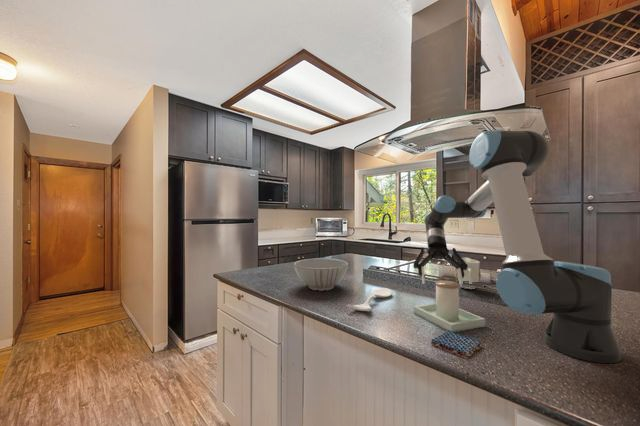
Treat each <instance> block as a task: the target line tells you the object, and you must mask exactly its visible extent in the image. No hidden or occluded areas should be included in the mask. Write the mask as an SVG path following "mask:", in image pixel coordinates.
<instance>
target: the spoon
mask: <svg viewBox="0 0 640 426" xmlns="http://www.w3.org/2000/svg"><path fill="white" fill-rule="evenodd" d="M392 295H393V291H392V290H391V289H390V288H387V287H379V288H376V289H374V290H372V291H371V292H370V294H369V295H368V297H367V299H366V300H365V302H364V303H361V304H354V305H353V304H347V306H346V307H347V308H350V309H353V310H356V311H359V312H370V311H372V307H371V305H370V302H371V300H372V299H376V298H383V299H384V298H388V297H390V296H392Z"/></svg>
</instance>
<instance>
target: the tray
mask: <svg viewBox="0 0 640 426" xmlns="http://www.w3.org/2000/svg"><path fill="white" fill-rule="evenodd" d="M413 314H414V315H417V316H419V318H420V317H421V318H422V319H424V320H426V321H428V322H429V323H431V324H433V325H436V326H437V327H440V328H441V329H443V330H444V331H448V330H449V332H452V333H453V332H455V333H458V332H459V333H460V332H463V331H469V330H473V329H474V330H475V329H479V328H484V327H486V319H485V318H484V317H482V316H479V315H477V314H474V313H473V312H469V311H467V310H465V309H462V308H460V307H459V320H458V321H454V322H449V321H446V320H444V319H442V318H440V317H438V316H436V302H433V303H427V304H420V305H413Z"/></svg>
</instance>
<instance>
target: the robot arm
mask: <svg viewBox="0 0 640 426" xmlns="http://www.w3.org/2000/svg"><path fill="white" fill-rule="evenodd" d="M549 151H550V148H549V144H548V141H547V140H546V138H545V137H544V136H543V135H541V134H540V133H538V132H535V131H533V130H499V129H495V130H485V131H483V132H481V133H479V134H478V135H477V136H476V138H475V139H474V140H473V142H472V144H471V147H470V149H469V153H468V155H469V157H468V161H469V164H470V165H471V167H472V168H474V169H476V170H480V173H481V178H482V179H484V180H485V181H484V183H483V184H482V185H481V186H479V188H477V190H476V191H475V192H473V193H472V195H470V196H469V197H468V198H466V200H455V199H454V198H453V197H452V196H448V195H446V194H445V195H441V196H438V198H437V199H436V201H435V202H434V205H433V207H432V209H431V211H429V212H426V214H425V217H424V224H425V231H426V241H427V248H425V247H420V251H419V253H418V255H417V257H416V259H415V261H414V262H413V268H414V269H417V271H418V276H419V277H421V282H422V285H425V284H426V283H425V281H426V279H425V269H424V267H425V266H426V265H427V264H428V263H429V262H430V261H432V260H433V259H434V260H444V261H446V262H448V263H449V264H451V266H453V267H454V268H455V269H458V271H457V273H458V279H459V284H460V286H462V284H463V279H462V278H464V270H467V267H468V265H467V264H466V263H465V261H464V260H463V259H462V258H463V257H461V255H460V254H459V253H458V252H457V250H456V248H455V247H453V248H452V249H448V247H447V245H448V244H447V240H446V233H445V224H446V222H447V221H448V219H477V218H482V217H484V216H485V215H486V213H487V208H488V206H490V205H491V204H494V208H495V214H496V217H497V222H498V226H499V231H500V234H501V240H502V244H503V249H504V252H505V256H506V257H505V259H504V260H503V261H502V263H501V266H502V269H501V270H500V271H499V272H498V273H497V275H496V277H497V278H496V279H495V285H496V289H497V292H498V295H499V296H500V298H501V300H502V301H503V303H504V304H505V305H507V306H508V308H510V309H511V310H513V311H515V312H517V313H520V314H527V315H528V314H529V315H530V314H531V315H541V314H552V317H551V319H550V321H549V323H548V326H547V327H546V329H545V332H544V342H545V343H546V345H548V346H549V347H550V348H551V349H553V350H555V351H558V352H559V353H561V354H564V355H566V356H570V357H572V358H576V359H580V360H583V361H588V362H593V363H597V364H598V363H599V364H600V363H601V364H617V363H619V362H620V361H621V360H622V348H621V347H620V344H619V342H618V340H617V337H616V335H615V333H614V330H613V328H612V292H613V291H612V287H613V284H612V275H611V273H610V271H609V270H608V269H605V268H602V267H600V266H598V267H597V266H593V265H588V264H582V263H576V262H567V261H561V260H560V261H559V260H555V261H554V258H552V257H550V256H549V255H547V254H546V253H544V250H543V245H542V242H541V238H540V235H539V234H540V233H539V231H538V227H537V223H536V220H535V216H534V213H533V209H532V208H533V207H532V205H531V202H530V197H529V195H528V190H527V187H526V184H525V179H524V178H528V177H531V176H532V175H534V174H535V173H536V172H537V171H538V170H540V169H541V168H542V166H543V165H544V163H545V162H546V161H547V159H548V156H549ZM426 254H427V256H425V258H423V257H424V255H426ZM422 259H423V260H422Z"/></svg>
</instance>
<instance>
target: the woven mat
mask: <svg viewBox="0 0 640 426" xmlns="http://www.w3.org/2000/svg"><path fill="white" fill-rule="evenodd" d="M430 346H433V347H436V348H439V349H441V350H444V351H446V352H449V353H452V354H453V355H457V356H459V357H462V358H463V359H468V357H470V356H472V355H473V354H474V353H475V352H476V350H477V351H478V350H480V349H481V348H482V347H483V345H482V344H481V341H478V338H477V339H473V338H472V337H467V336H466V335H461V333H456V332H453V333H452V332H449V330H448V331H447V330H445V331H444V332H441V334H439V335H436V336H435V337H433V338H431V341H430Z"/></svg>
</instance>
